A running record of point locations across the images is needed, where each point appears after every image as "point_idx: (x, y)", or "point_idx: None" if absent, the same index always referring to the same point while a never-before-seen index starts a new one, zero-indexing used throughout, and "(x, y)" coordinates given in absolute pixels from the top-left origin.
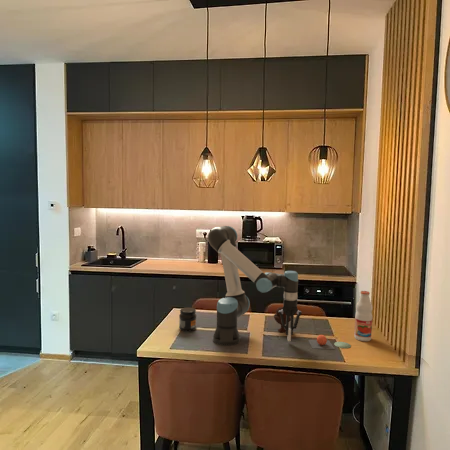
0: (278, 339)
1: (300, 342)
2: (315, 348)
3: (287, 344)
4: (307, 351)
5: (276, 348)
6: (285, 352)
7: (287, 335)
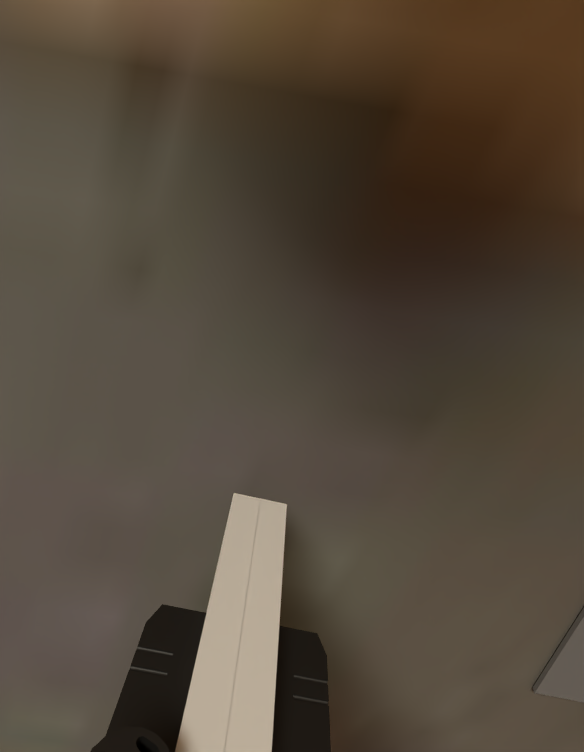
0: (117, 280)
1: (489, 483)
2: (572, 696)
3: (222, 518)
4: (408, 735)
5: (9, 609)
6: (110, 715)
7: (217, 566)
